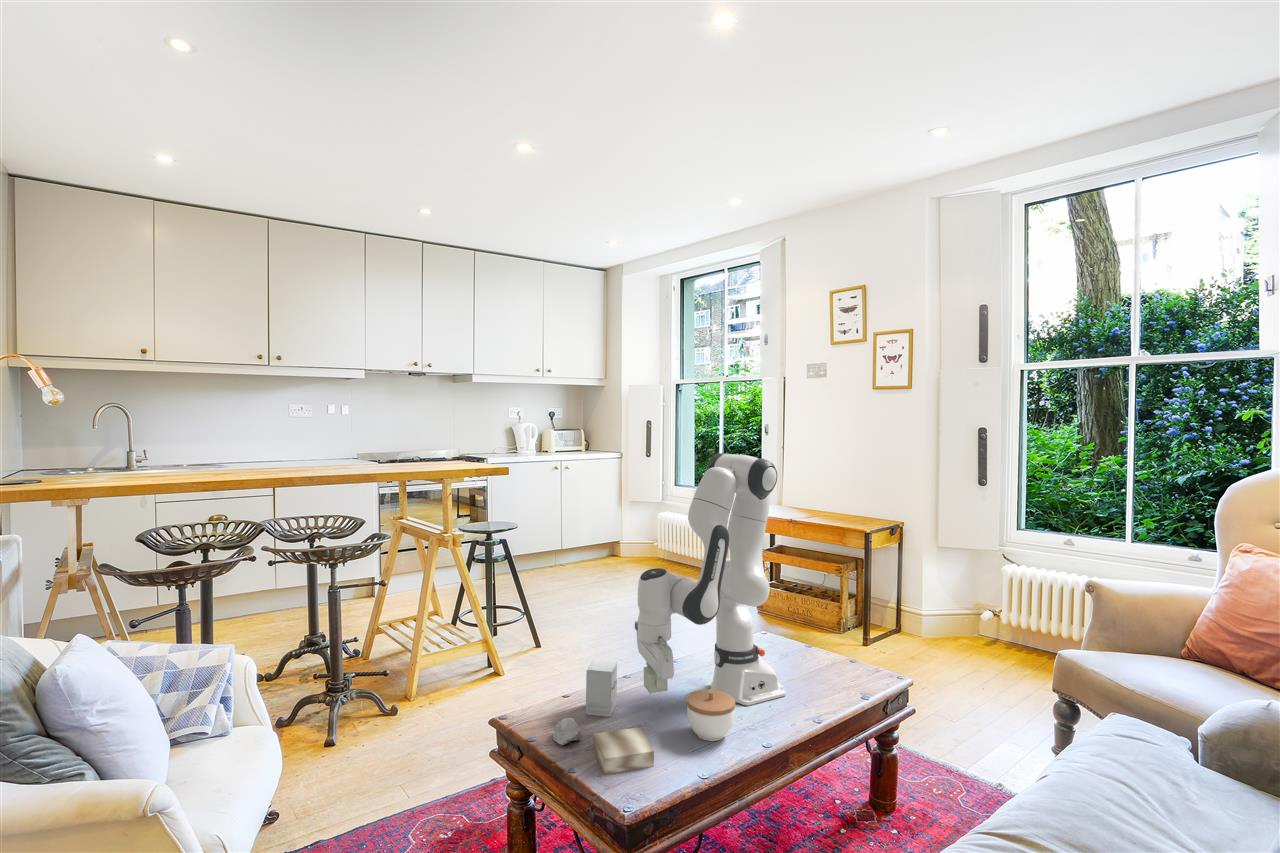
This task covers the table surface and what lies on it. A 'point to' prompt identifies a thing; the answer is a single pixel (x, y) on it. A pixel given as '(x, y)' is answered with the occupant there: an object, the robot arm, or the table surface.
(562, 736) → the white clam shell
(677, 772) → the table surface
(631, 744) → the ash block
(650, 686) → the sage cube
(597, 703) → the supplement box
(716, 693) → the lidded bowl
